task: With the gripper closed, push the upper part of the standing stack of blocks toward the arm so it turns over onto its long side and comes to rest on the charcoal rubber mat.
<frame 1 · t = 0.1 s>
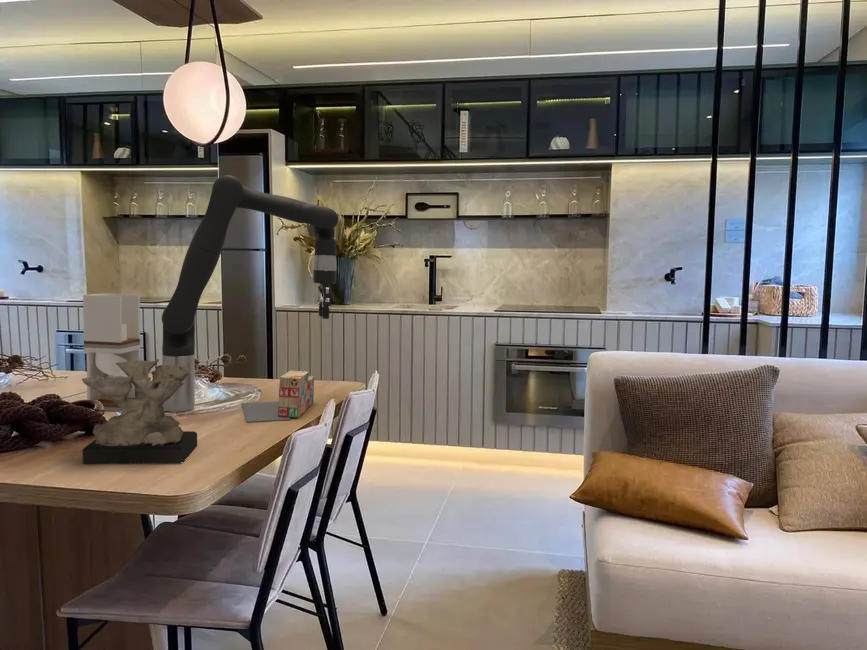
hand: (323, 317, 199), 29 cm above the table, fingers open, 8 cm apart
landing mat: (264, 411, 186), on the table
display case: (113, 407, 185), on the table
coral: (141, 451, 144), on the table
stack of blocks: (296, 410, 190), on the table, touching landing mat
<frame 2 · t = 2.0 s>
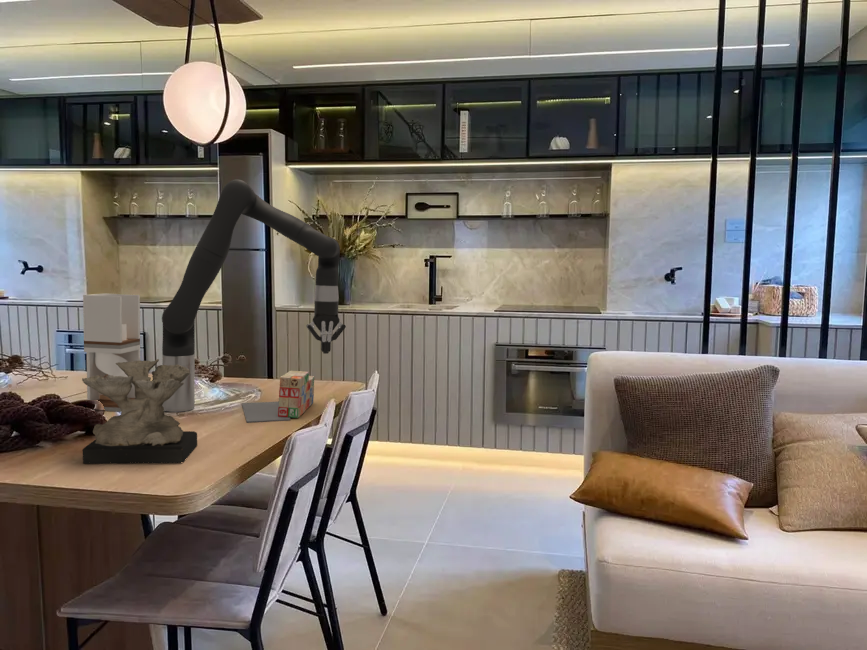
hand: (325, 353, 191), 18 cm above the table, fingers closed
nothing on the table moved.
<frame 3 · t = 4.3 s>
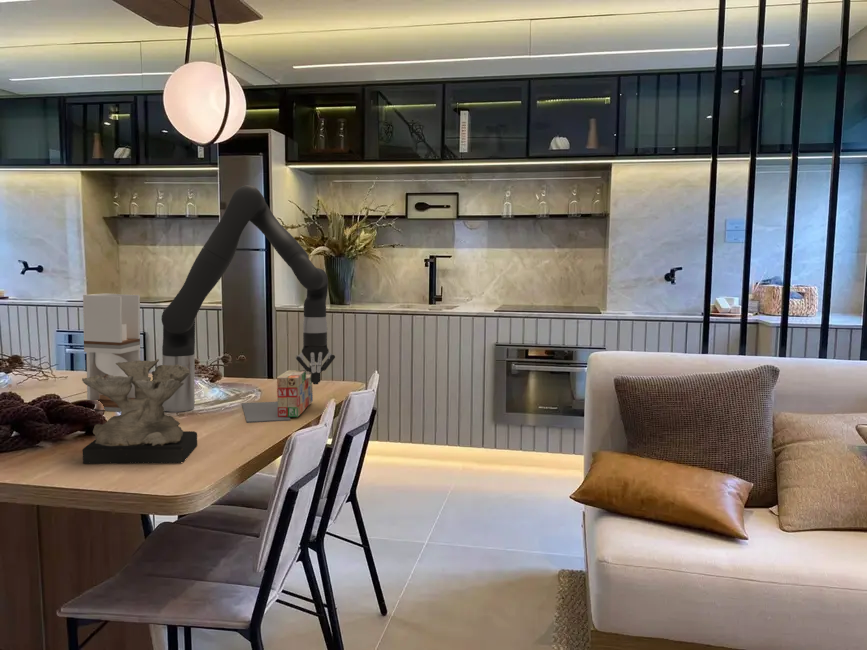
hand: (315, 383, 191), 8 cm above the table, fingers closed
stack of blocks: (296, 409, 190), on the table, touching gripper, hand, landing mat
everything else where it was.
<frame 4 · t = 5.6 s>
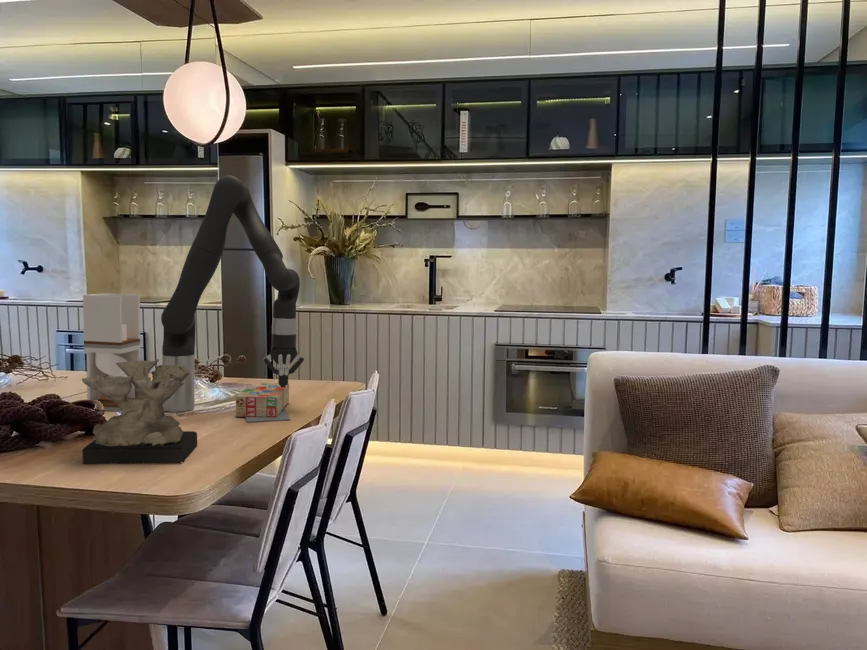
hand: (283, 386, 187), 8 cm above the table, fingers closed
stack of blocks: (284, 399, 189), point 4 cm above the table, touching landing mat
everything else where it was.
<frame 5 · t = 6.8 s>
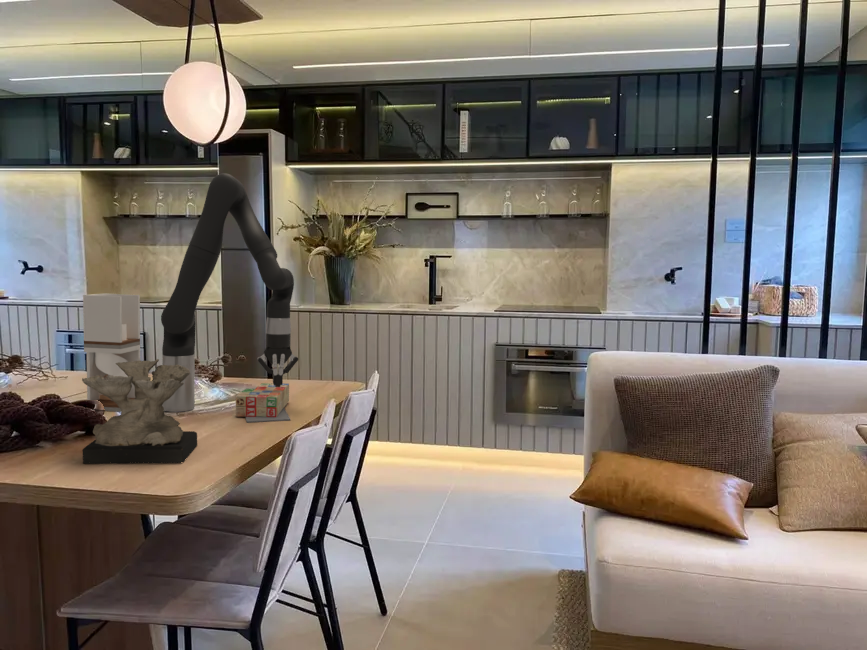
hand: (277, 386, 187), 8 cm above the table, fingers closed
nothing on the table moved.
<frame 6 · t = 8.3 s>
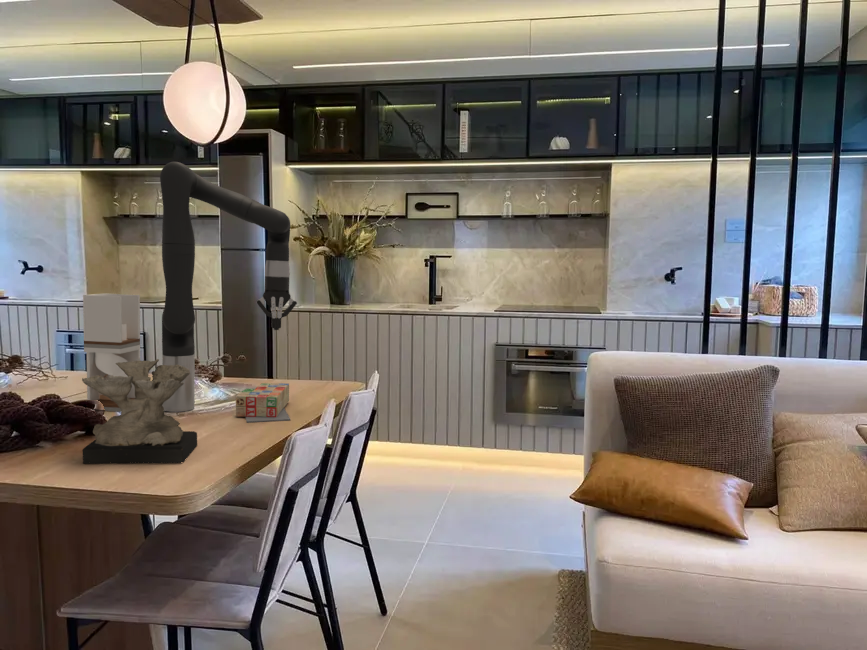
hand: (276, 329, 188), 26 cm above the table, fingers closed
nothing on the table moved.
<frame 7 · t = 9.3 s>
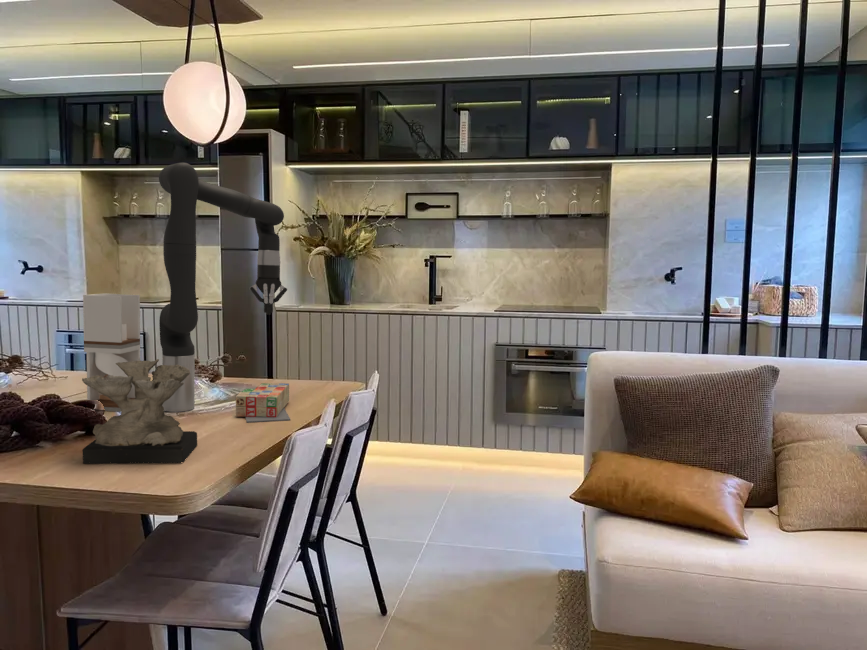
hand: (268, 314, 204), 29 cm above the table, fingers closed
nothing on the table moved.
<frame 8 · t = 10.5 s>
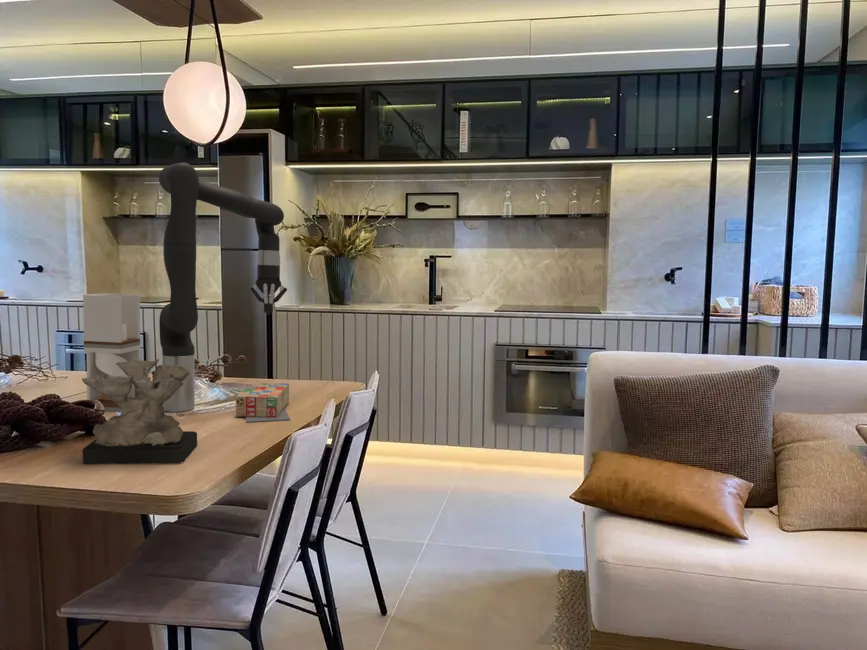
hand: (268, 314, 204), 29 cm above the table, fingers closed
nothing on the table moved.
at the end: stack of blocks tilted 90°; stack of blocks touching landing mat; the gripper is holding nothing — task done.
